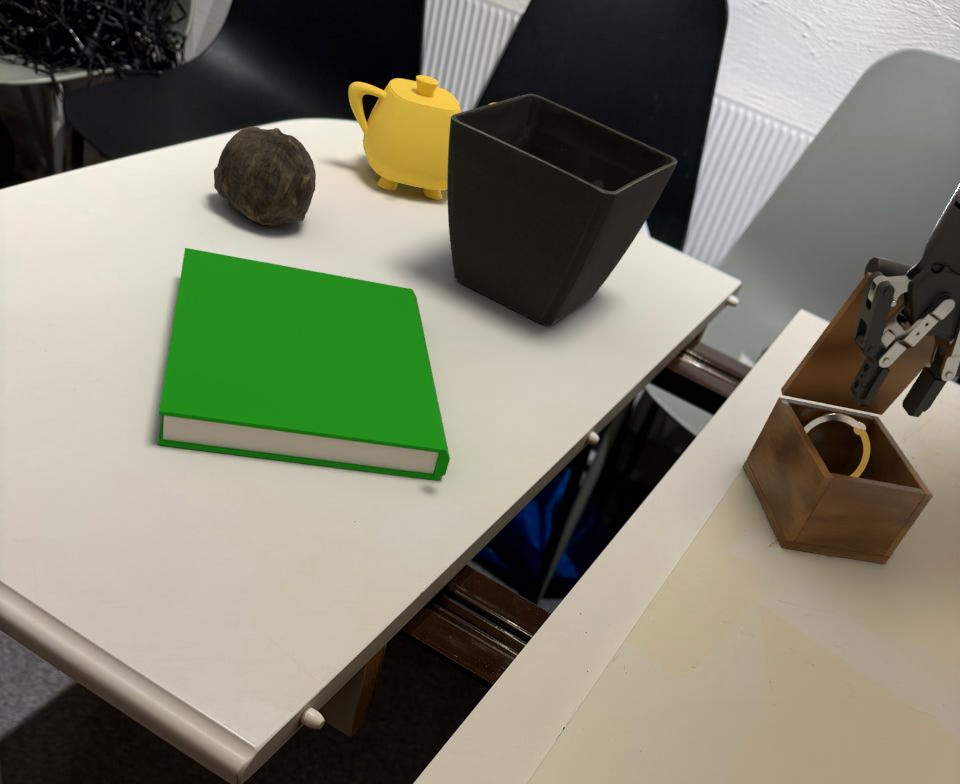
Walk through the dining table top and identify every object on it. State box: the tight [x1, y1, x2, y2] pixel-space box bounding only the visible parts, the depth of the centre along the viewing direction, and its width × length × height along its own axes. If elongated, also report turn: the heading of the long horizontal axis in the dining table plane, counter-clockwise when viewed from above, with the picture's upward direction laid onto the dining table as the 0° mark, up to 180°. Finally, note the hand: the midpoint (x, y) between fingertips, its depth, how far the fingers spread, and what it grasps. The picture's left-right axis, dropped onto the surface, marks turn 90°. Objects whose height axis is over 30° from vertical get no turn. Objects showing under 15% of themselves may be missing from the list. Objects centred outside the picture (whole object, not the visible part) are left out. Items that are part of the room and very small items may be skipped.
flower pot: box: [446, 93, 678, 326], centre depth 106 cm, size 19×19×17 cm
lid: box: [780, 256, 935, 416], centre depth 86 cm, size 14×11×6 cm
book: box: [157, 247, 451, 481], centre depth 86 cm, size 22×28×3 cm
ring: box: [802, 413, 870, 478], centre depth 91 cm, size 7×3×8 cm
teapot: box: [347, 74, 498, 201], centre depth 123 cm, size 13×20×12 cm
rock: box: [213, 125, 317, 227], centre depth 105 cm, size 10×11×10 cm
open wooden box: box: [742, 396, 934, 565], centre depth 89 cm, size 13×11×8 cm
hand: (884, 405), depth 83 cm, fingers open, 4 cm apart
